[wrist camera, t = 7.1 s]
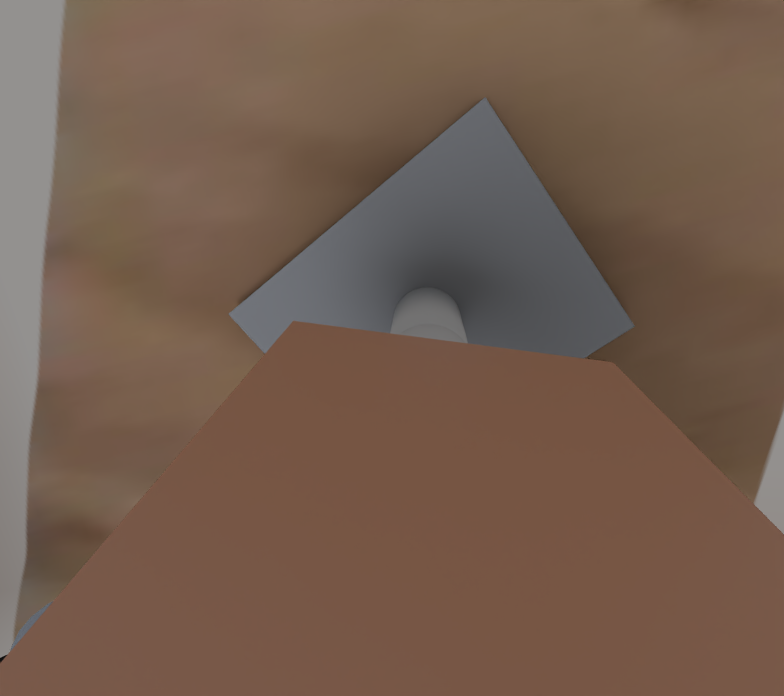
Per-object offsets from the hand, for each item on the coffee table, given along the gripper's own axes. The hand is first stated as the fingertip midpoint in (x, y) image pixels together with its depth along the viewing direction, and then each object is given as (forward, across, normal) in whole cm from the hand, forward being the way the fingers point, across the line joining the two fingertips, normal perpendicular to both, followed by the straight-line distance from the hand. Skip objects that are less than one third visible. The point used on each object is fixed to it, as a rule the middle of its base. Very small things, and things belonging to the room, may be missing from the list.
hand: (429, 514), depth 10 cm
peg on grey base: (+16, 0, 0) cm, 16 cm away
